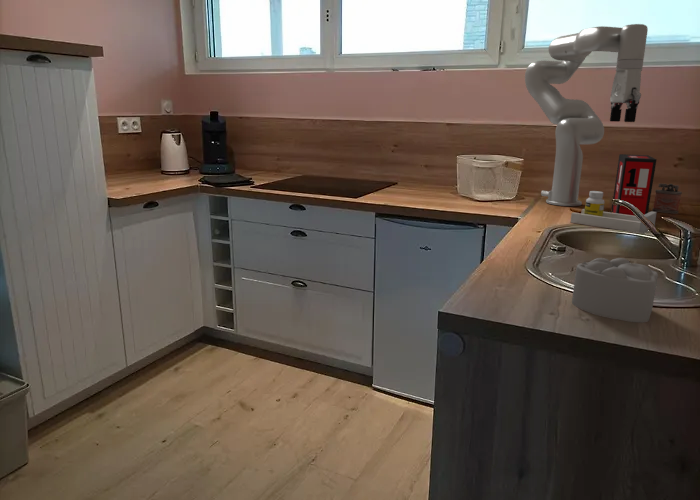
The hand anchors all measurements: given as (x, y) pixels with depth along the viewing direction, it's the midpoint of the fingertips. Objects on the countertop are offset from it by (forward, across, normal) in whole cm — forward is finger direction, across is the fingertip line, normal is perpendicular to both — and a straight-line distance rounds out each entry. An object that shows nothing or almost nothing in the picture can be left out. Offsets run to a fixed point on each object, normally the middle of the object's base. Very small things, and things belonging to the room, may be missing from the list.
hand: (621, 121), depth 177 cm
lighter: (+31, -8, +24) cm, 40 cm away
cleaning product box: (+31, +1, +6) cm, 32 cm away
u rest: (+31, +16, -8) cm, 36 cm away
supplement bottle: (+31, +12, -11) cm, 36 cm away
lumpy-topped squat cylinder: (+32, +89, -41) cm, 103 cm away
